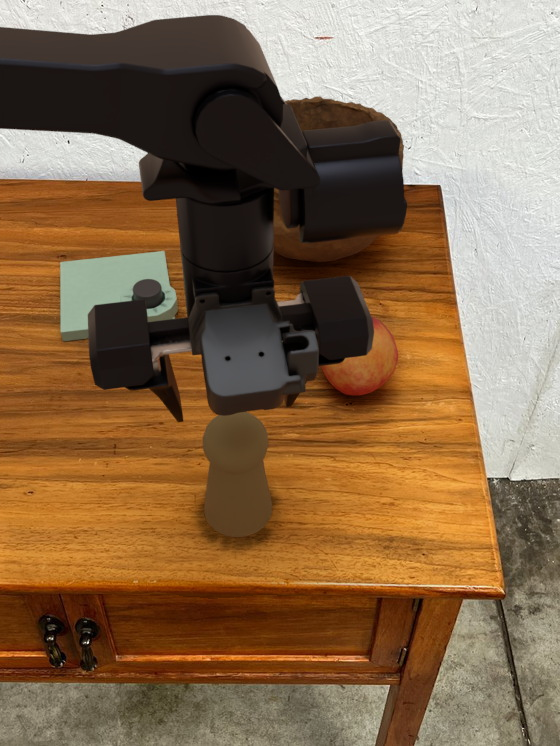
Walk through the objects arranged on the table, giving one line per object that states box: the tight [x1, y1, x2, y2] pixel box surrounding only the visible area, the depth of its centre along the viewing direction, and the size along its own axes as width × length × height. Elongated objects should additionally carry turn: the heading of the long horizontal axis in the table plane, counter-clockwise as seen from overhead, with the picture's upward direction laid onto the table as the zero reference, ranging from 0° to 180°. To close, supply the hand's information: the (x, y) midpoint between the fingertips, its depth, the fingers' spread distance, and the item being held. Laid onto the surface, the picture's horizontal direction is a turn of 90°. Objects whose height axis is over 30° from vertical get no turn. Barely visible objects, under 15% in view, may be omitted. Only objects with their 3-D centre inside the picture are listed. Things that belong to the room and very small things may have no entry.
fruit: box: [320, 315, 399, 396], centre depth 76 cm, size 8×8×8 cm
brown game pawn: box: [202, 411, 274, 538], centre depth 64 cm, size 6×6×11 cm
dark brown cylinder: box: [133, 279, 163, 309], centre depth 82 cm, size 3×3×2 cm
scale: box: [59, 250, 179, 342], centre depth 86 cm, size 12×13×3 cm
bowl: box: [273, 95, 405, 263], centre depth 89 cm, size 19×19×15 cm
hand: (234, 410), depth 59 cm, fingers open, 8 cm apart
